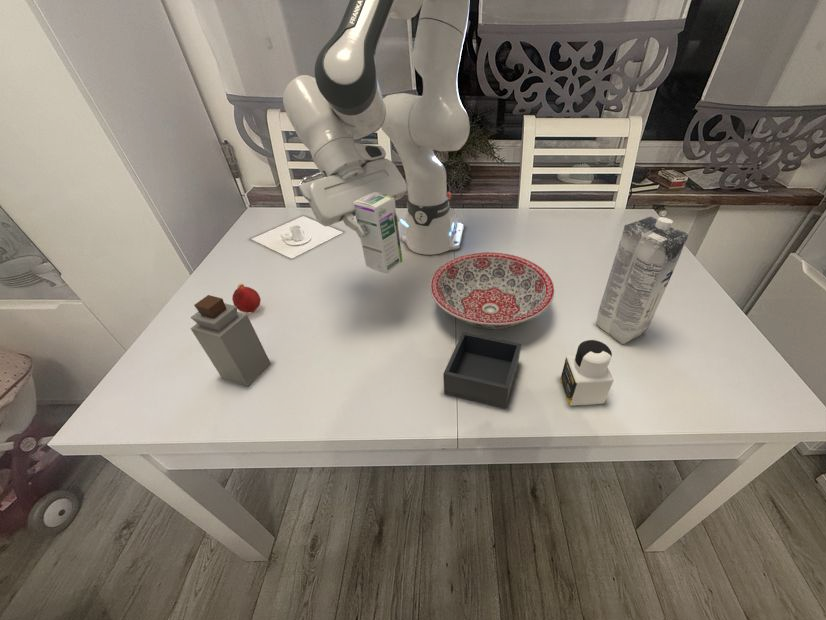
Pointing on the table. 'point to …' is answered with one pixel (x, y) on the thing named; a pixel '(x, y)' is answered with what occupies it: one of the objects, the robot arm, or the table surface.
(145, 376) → the table surface
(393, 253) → the syrup box
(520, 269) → the ceramic bowl
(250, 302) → the onion
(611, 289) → the juice carton
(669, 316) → the table surface
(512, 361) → the bin
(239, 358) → the perfume bottle
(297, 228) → the teacup and saucer
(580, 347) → the medicine bottle
